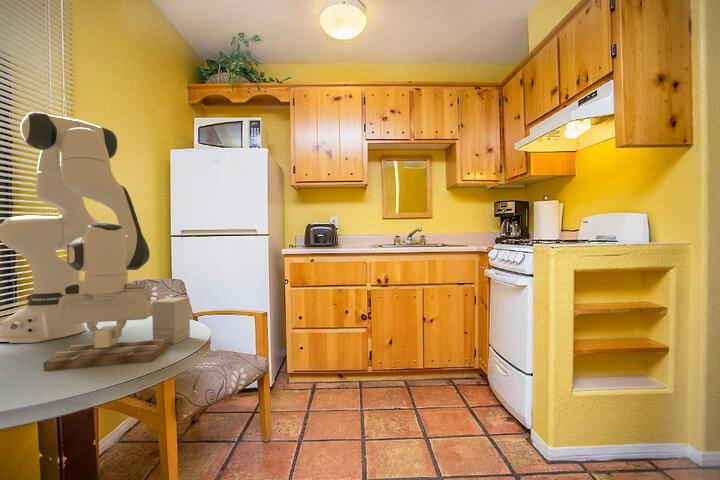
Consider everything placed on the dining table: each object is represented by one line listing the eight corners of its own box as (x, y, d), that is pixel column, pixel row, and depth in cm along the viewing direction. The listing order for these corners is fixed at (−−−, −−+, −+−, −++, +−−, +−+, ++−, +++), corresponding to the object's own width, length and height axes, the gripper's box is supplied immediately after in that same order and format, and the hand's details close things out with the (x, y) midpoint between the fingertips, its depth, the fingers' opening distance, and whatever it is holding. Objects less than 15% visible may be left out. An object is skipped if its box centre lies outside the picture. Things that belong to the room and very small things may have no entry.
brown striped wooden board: (43, 370, 75) (43, 357, 75) (77, 353, 86) (76, 342, 86) (152, 361, 80) (152, 349, 80) (170, 346, 91) (170, 335, 91)
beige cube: (90, 352, 80) (90, 331, 80) (101, 346, 85) (101, 325, 85) (113, 350, 81) (112, 329, 81) (123, 344, 86) (122, 324, 86)
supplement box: (190, 337, 100) (190, 297, 100) (175, 344, 93) (174, 301, 93) (169, 336, 101) (168, 297, 101) (151, 344, 94) (151, 301, 94)
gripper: (156, 282, 88) (156, 331, 88) (70, 285, 84) (70, 337, 84) (145, 285, 82) (146, 338, 82) (52, 288, 78) (52, 344, 77)
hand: (107, 338), depth 83 cm, fingers closed on beige cube, 3 cm apart
